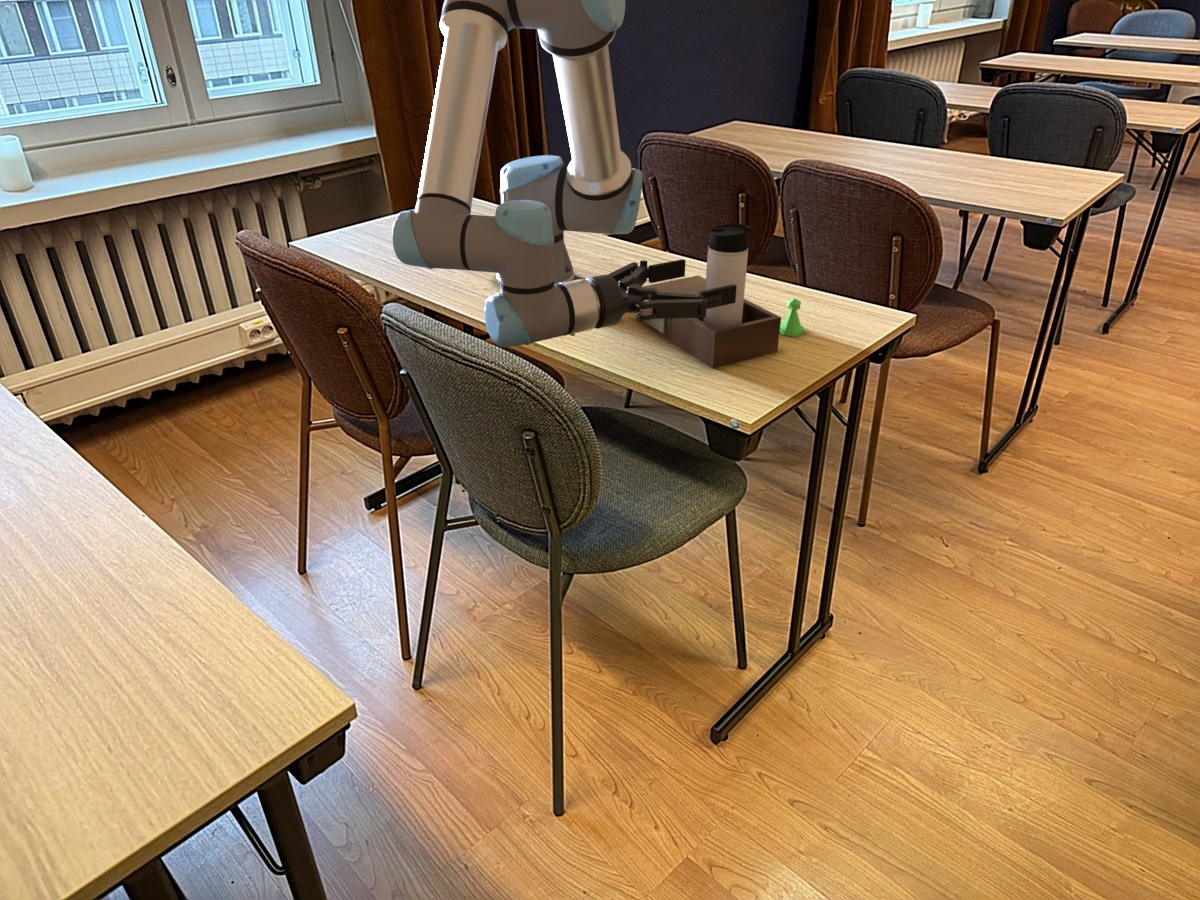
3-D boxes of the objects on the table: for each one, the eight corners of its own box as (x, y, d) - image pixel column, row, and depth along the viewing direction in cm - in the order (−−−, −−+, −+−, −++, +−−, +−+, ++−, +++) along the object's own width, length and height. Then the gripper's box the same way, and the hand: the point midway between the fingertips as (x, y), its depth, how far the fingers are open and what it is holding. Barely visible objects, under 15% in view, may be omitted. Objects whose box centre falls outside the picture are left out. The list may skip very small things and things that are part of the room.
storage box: (629, 321, 150) (629, 288, 147) (696, 306, 156) (698, 275, 153) (705, 370, 133) (708, 334, 130) (777, 351, 139) (781, 317, 136)
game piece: (808, 331, 146) (813, 298, 143) (794, 338, 144) (798, 304, 141) (787, 324, 149) (791, 291, 146) (773, 331, 146) (776, 298, 143)
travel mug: (740, 354, 138) (751, 232, 128) (699, 351, 139) (707, 230, 129) (742, 339, 143) (753, 221, 133) (703, 336, 144) (711, 218, 134)
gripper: (552, 301, 136) (664, 279, 145) (632, 358, 117) (755, 329, 126) (550, 255, 132) (665, 236, 141) (633, 307, 113) (760, 280, 122)
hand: (708, 280), depth 133 cm, fingers open, 13 cm apart
